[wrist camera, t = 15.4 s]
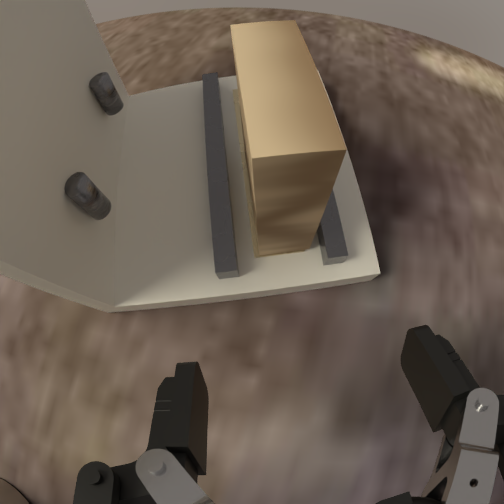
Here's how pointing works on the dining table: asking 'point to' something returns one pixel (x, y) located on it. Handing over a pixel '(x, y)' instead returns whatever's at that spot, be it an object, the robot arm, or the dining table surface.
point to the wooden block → (285, 134)
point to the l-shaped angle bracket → (140, 181)
